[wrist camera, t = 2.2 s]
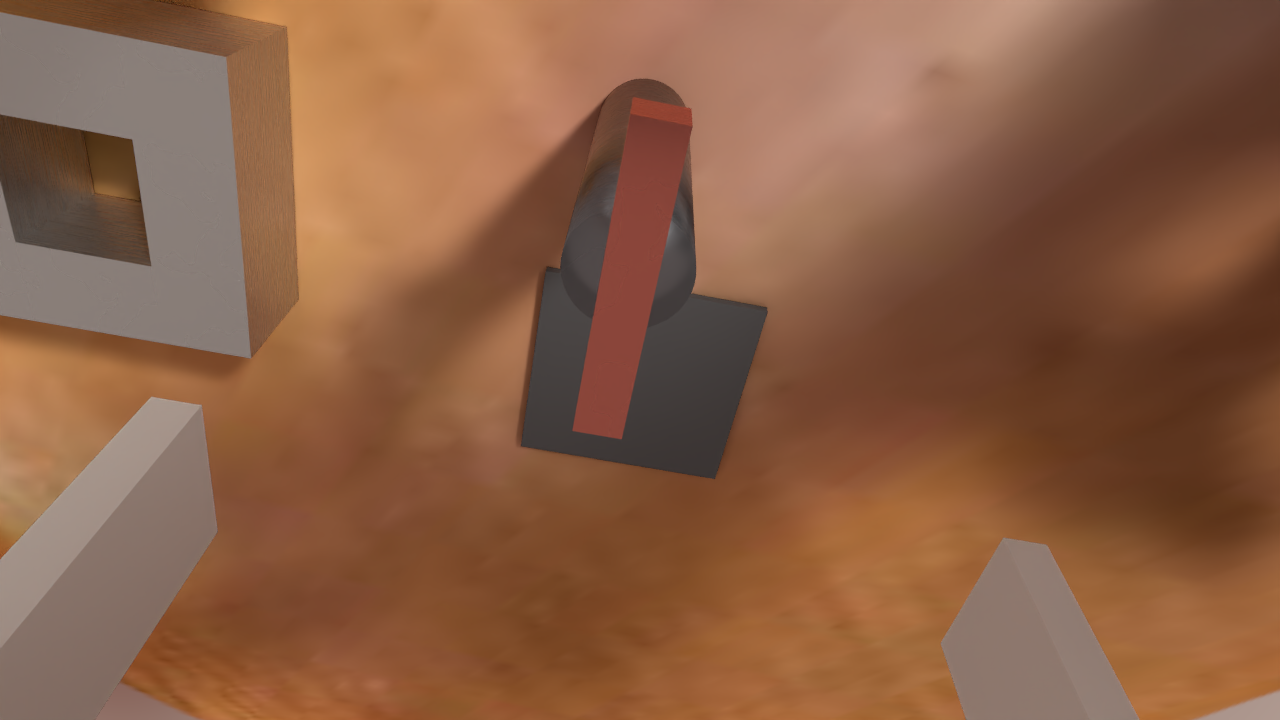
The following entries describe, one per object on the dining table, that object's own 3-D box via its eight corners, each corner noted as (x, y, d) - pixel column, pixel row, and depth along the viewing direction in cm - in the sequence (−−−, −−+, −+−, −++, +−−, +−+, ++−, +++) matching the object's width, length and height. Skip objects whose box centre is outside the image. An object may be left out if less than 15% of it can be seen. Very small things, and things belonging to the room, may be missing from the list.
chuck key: (618, -5, 30) (580, 103, 18) (714, 15, 30) (740, 136, 18) (582, 219, 35) (533, 424, 23) (664, 235, 35) (660, 445, 23)
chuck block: (-43, -40, 30) (-159, -20, 26) (286, 27, 31) (226, 56, 27) (27, 251, 37) (-57, 305, 32) (298, 299, 38) (251, 358, 33)
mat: (547, 266, 36) (545, 270, 36) (766, 307, 37) (767, 311, 37) (522, 441, 42) (521, 446, 41) (714, 473, 42) (715, 479, 42)
